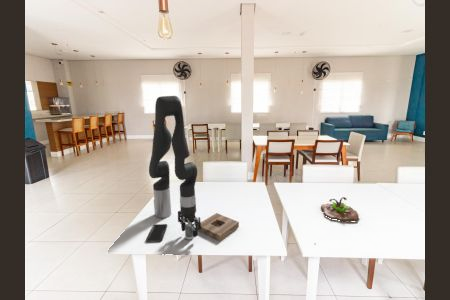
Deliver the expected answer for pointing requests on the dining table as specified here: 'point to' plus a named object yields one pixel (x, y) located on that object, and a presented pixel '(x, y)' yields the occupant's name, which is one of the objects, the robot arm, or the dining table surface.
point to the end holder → (223, 230)
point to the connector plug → (188, 232)
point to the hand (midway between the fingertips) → (189, 233)
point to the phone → (157, 233)
